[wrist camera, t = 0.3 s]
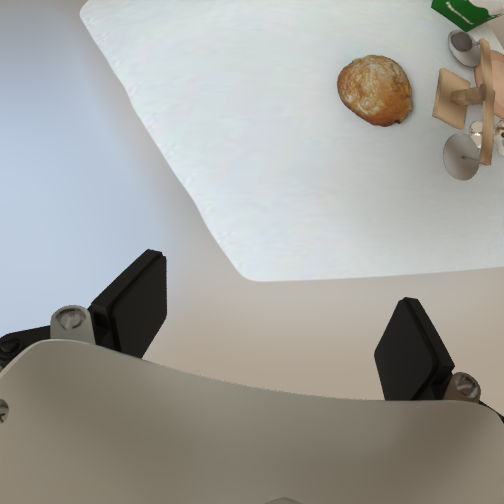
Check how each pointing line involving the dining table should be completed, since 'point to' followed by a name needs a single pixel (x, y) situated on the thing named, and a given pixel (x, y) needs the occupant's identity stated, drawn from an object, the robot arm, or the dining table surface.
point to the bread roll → (375, 90)
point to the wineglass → (501, 135)
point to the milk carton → (469, 11)
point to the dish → (494, 80)
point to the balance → (455, 105)
